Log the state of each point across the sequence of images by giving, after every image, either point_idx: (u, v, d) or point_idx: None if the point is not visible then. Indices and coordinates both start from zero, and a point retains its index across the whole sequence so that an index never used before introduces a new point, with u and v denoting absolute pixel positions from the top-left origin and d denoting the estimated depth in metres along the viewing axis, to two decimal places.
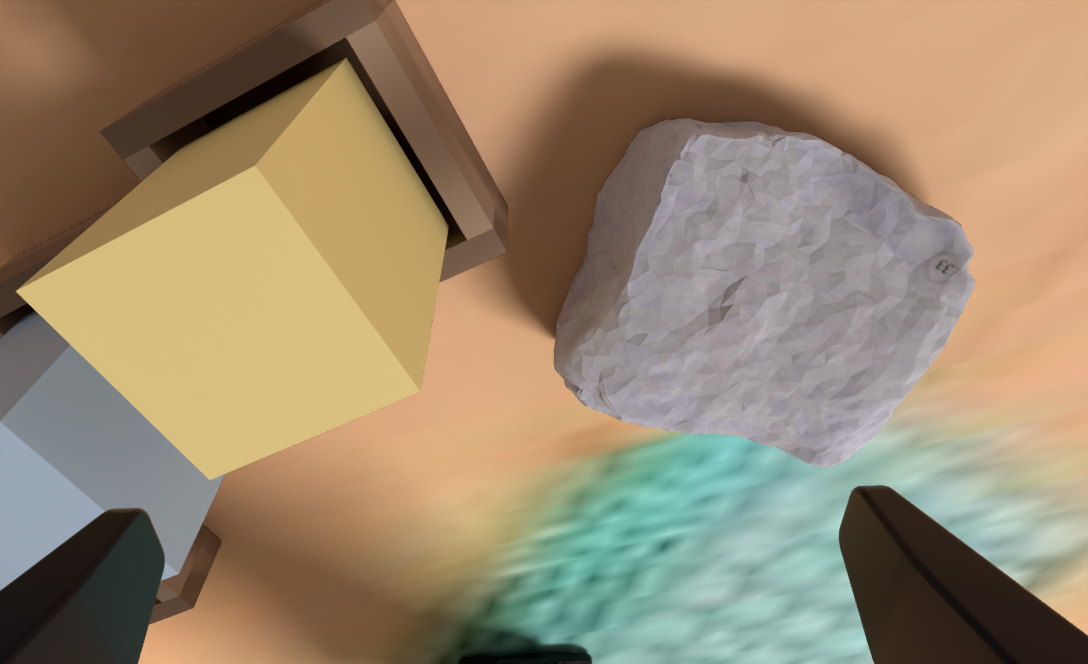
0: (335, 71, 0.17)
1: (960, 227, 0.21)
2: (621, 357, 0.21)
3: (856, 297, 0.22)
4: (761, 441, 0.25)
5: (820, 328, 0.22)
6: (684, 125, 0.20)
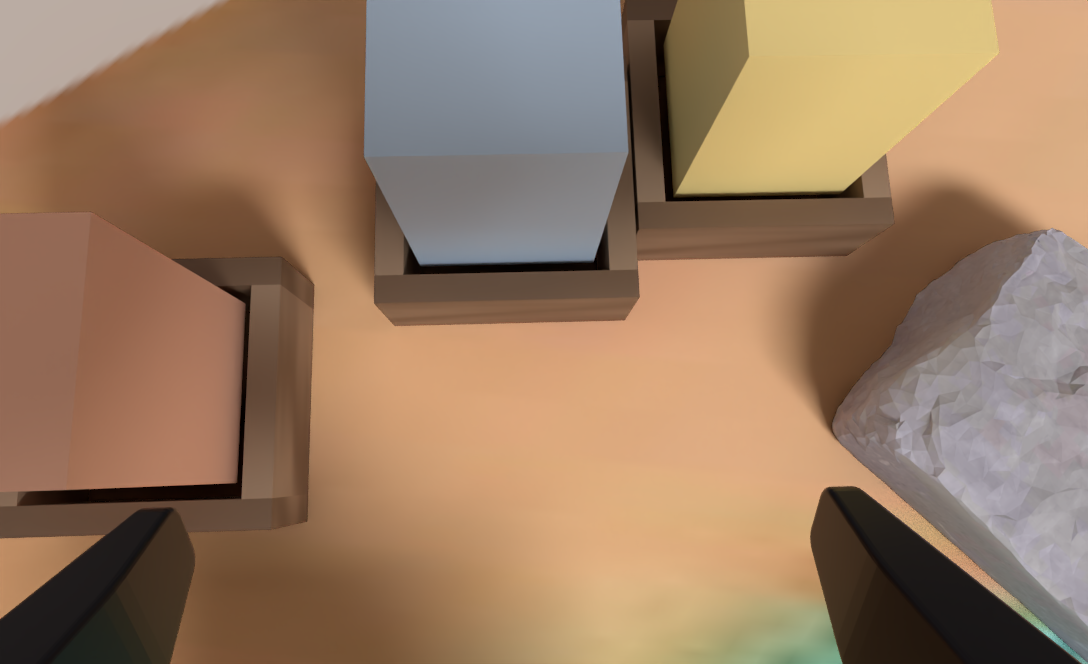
0: None
1: None
2: (971, 379, 0.20)
3: None
4: (1080, 610, 0.20)
5: None
6: None
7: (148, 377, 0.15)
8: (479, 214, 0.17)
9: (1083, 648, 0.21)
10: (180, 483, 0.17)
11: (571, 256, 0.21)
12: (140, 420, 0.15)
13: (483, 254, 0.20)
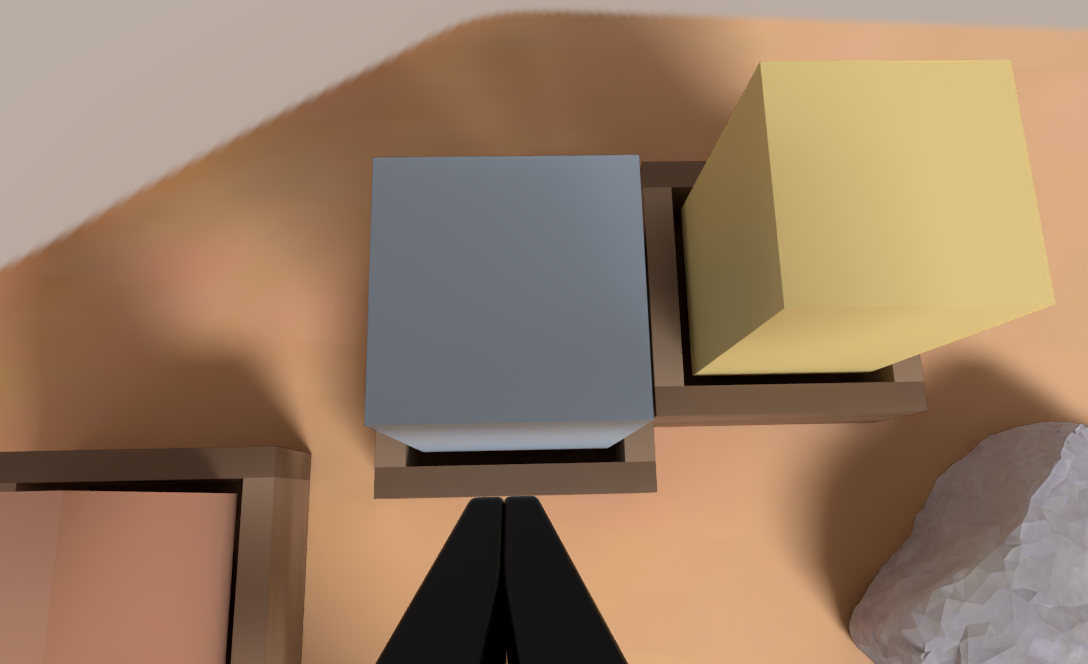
0: None
1: None
2: (1002, 610, 0.18)
3: None
4: None
5: None
6: (1061, 423, 0.21)
7: (125, 638, 0.14)
8: (488, 438, 0.16)
9: None
10: None
11: (585, 447, 0.19)
12: None
13: (491, 448, 0.19)
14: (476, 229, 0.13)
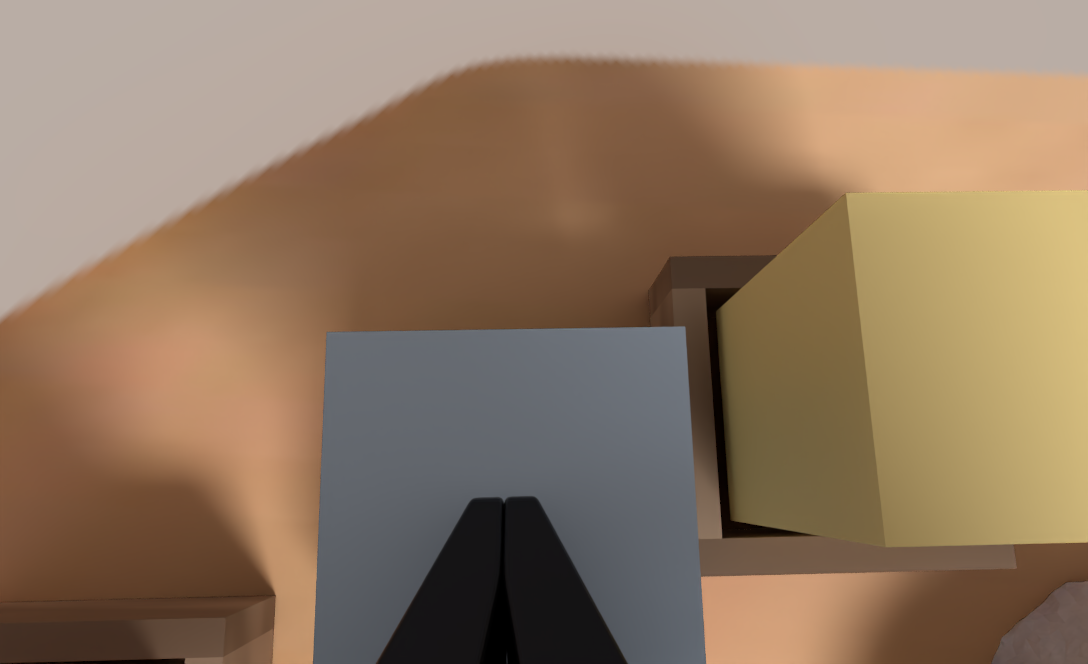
0: None
1: None
2: None
3: None
4: None
5: None
6: None
7: None
8: None
9: None
10: None
11: None
12: None
13: None
14: (465, 434, 0.10)
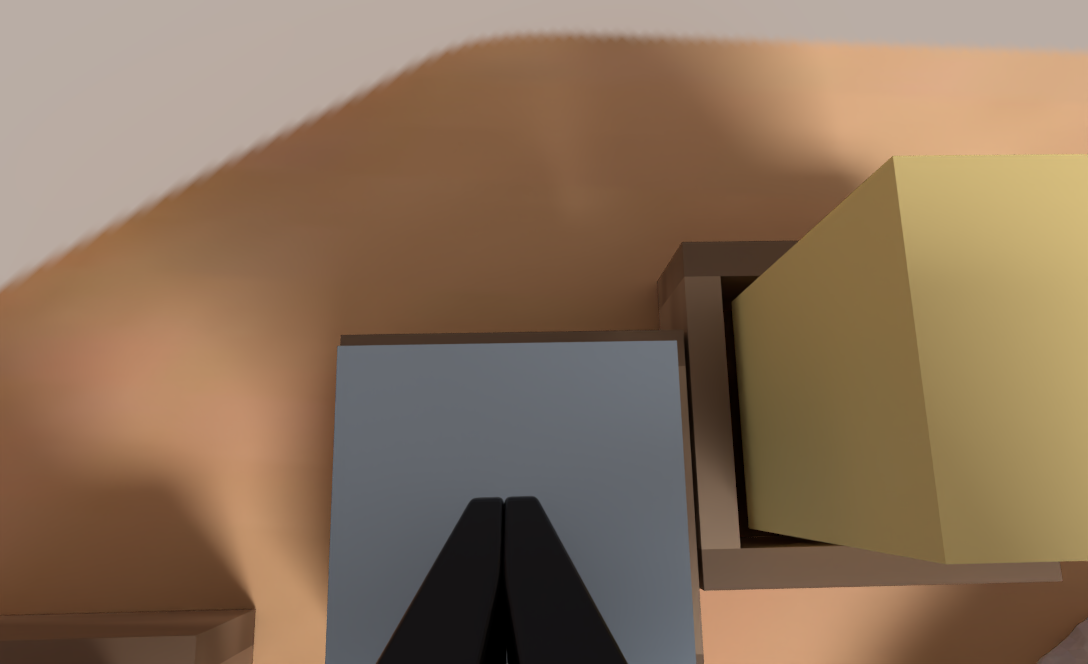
0: None
1: None
2: None
3: None
4: None
5: None
6: None
7: None
8: None
9: None
10: None
11: None
12: None
13: None
14: (468, 443, 0.10)
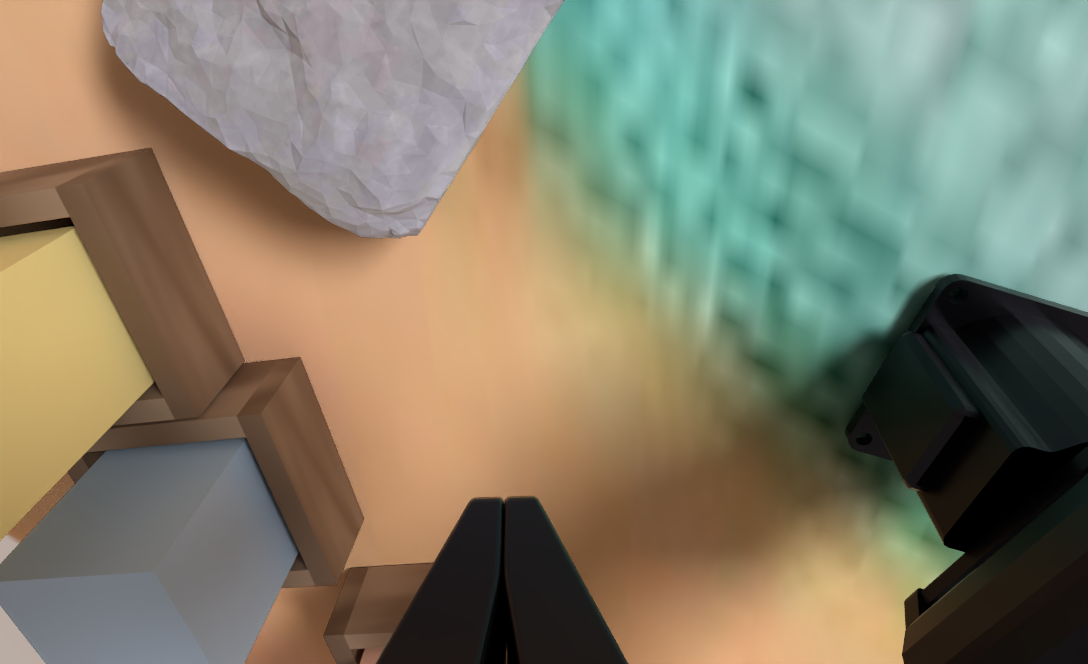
0: None
1: None
2: (320, 180, 0.17)
3: None
4: None
5: None
6: None
7: None
8: (252, 558, 0.23)
9: None
10: None
11: None
12: None
13: None
14: (87, 656, 0.20)
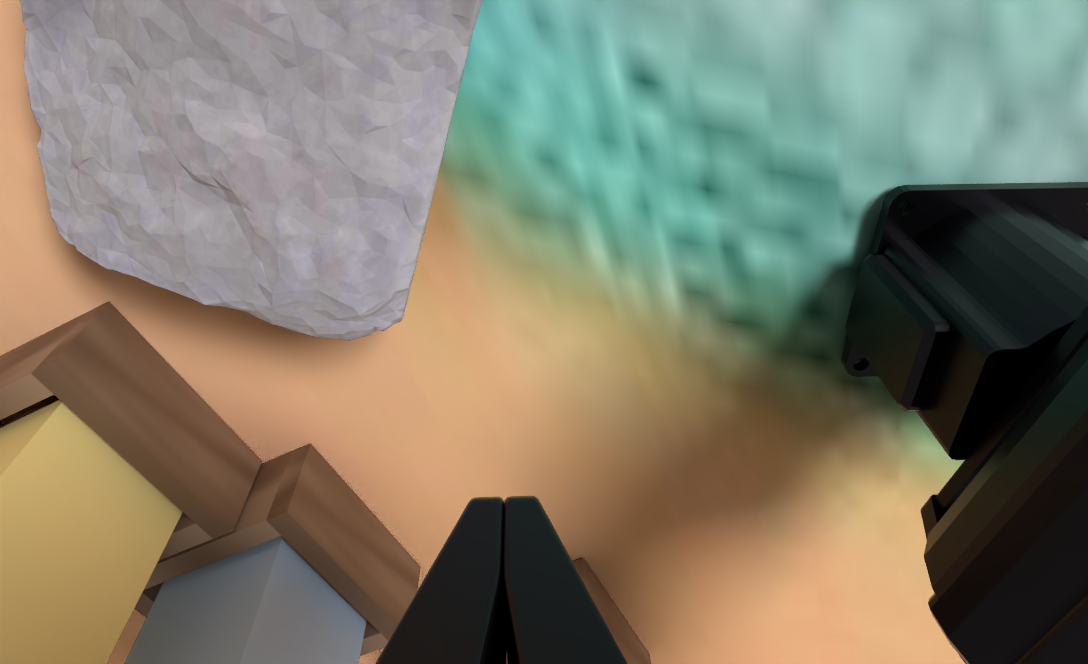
0: None
1: None
2: (294, 307, 0.18)
3: None
4: (454, 74, 0.16)
5: (227, 40, 0.15)
6: None
7: None
8: (322, 641, 0.24)
9: None
10: None
11: None
12: None
13: None
14: None
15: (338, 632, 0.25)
